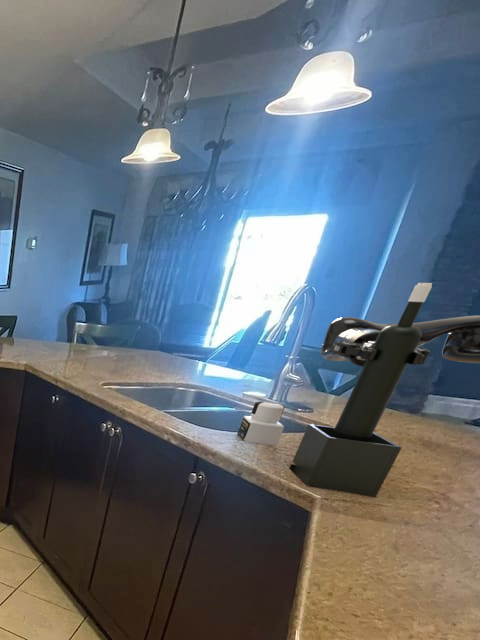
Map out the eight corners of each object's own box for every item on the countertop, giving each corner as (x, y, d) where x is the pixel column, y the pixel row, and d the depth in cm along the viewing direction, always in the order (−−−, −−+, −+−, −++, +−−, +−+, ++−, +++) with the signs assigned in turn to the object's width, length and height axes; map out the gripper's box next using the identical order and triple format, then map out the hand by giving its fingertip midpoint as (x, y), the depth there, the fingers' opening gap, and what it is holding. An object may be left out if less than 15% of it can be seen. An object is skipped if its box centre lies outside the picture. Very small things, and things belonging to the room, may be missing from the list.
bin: (351, 478, 111) (374, 432, 107) (375, 497, 101) (402, 447, 97) (289, 468, 115) (308, 424, 111) (306, 485, 106) (328, 437, 101)
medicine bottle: (234, 440, 134) (250, 397, 130) (266, 445, 132) (283, 401, 127) (240, 447, 129) (257, 403, 124) (274, 452, 126) (292, 407, 121)
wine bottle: (347, 429, 107) (418, 282, 95) (378, 437, 102) (456, 283, 90) (326, 429, 106) (395, 281, 94) (356, 438, 101) (432, 282, 89)
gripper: (330, 326, 111) (354, 333, 97) (419, 332, 104) (458, 341, 91) (316, 360, 114) (337, 371, 100) (401, 368, 107) (436, 381, 94)
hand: (394, 357), depth 95 cm, fingers closed on wine bottle, 5 cm apart
